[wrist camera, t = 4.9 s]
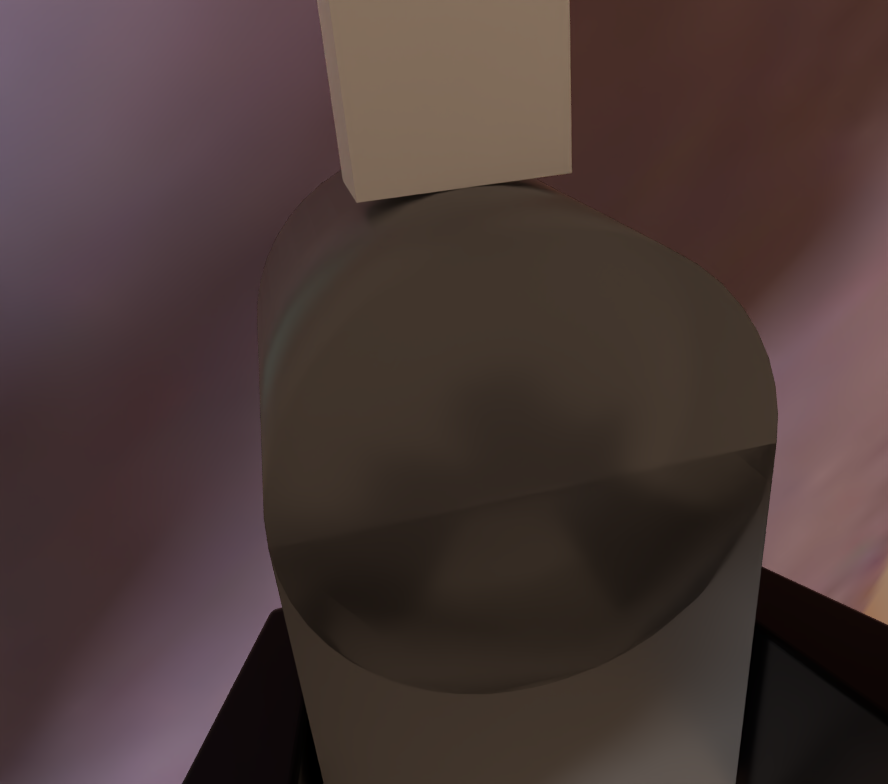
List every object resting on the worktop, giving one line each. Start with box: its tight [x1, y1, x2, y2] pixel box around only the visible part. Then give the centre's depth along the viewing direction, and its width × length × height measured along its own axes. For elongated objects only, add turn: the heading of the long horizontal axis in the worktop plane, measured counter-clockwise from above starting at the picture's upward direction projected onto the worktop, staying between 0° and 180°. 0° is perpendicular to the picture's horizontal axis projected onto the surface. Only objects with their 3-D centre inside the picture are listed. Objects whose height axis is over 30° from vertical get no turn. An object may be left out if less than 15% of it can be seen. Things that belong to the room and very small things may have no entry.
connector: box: [257, 0, 778, 784], centre depth 8 cm, size 12×4×4 cm, turn 5°
